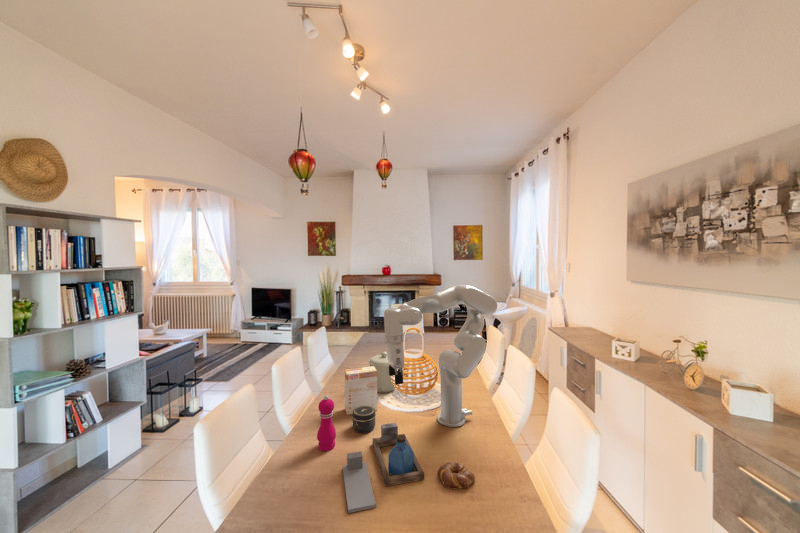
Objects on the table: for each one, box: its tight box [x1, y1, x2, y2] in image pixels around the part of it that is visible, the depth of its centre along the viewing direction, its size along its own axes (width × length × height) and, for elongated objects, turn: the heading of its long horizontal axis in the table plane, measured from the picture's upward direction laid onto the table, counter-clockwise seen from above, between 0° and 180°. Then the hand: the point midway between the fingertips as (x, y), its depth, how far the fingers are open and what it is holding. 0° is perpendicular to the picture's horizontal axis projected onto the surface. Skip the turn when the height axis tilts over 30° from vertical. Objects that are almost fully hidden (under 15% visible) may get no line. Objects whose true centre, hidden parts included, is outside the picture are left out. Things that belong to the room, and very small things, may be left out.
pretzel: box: [437, 462, 476, 490], centre depth 104 cm, size 12×11×4 cm
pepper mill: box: [316, 394, 337, 452], centre depth 122 cm, size 7×7×20 cm
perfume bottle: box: [387, 434, 415, 476], centre depth 108 cm, size 6×6×12 cm
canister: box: [368, 351, 396, 394], centre depth 177 cm, size 18×18×21 cm
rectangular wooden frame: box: [372, 422, 425, 487], centre depth 114 cm, size 13×24×7 cm, turn 15°
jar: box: [351, 406, 376, 434], centre depth 136 cm, size 10×10×8 cm
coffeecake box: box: [344, 366, 378, 416], centre depth 153 cm, size 15×7×20 cm, turn 108°
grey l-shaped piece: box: [342, 451, 377, 514], centre depth 101 cm, size 8×20×5 cm, turn 15°
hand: (395, 379), depth 131 cm, fingers open, 9 cm apart
